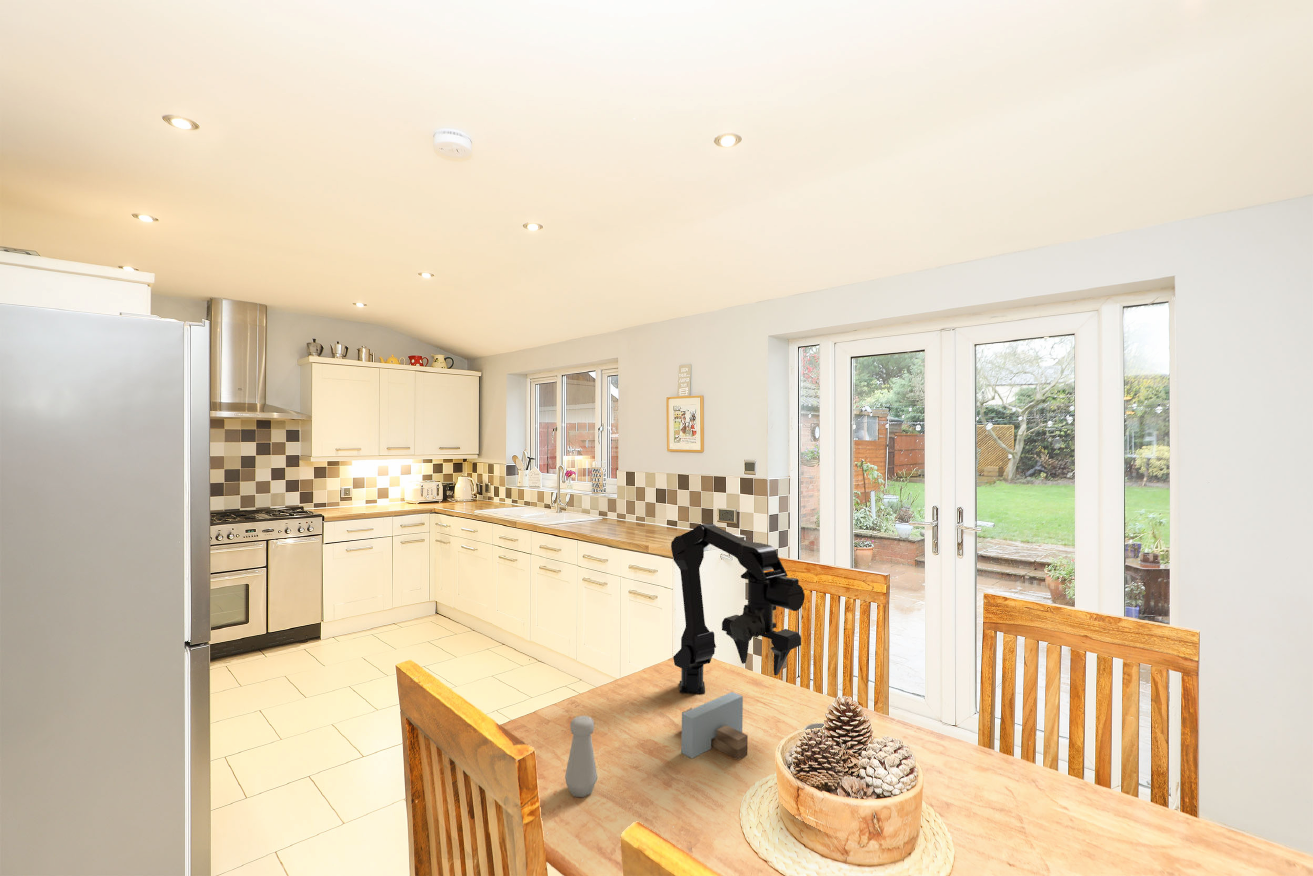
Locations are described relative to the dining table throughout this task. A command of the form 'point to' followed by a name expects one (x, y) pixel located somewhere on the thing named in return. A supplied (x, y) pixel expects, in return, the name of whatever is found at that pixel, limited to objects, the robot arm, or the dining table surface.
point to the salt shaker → (581, 758)
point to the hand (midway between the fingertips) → (759, 669)
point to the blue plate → (710, 722)
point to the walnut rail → (730, 741)
